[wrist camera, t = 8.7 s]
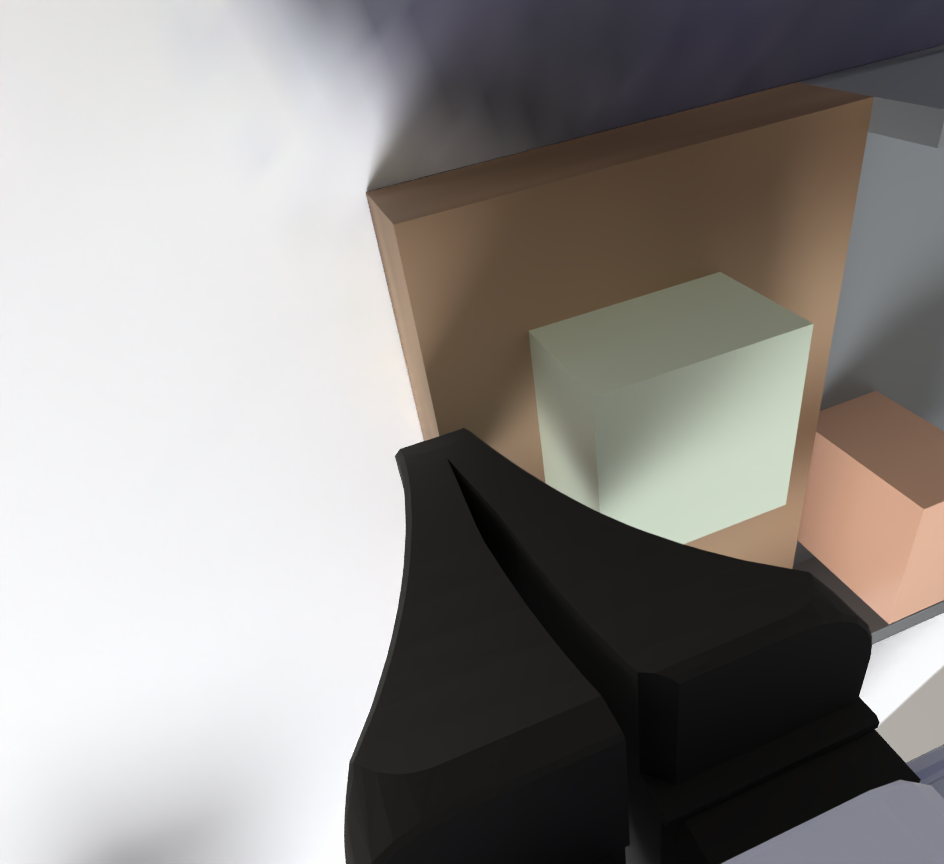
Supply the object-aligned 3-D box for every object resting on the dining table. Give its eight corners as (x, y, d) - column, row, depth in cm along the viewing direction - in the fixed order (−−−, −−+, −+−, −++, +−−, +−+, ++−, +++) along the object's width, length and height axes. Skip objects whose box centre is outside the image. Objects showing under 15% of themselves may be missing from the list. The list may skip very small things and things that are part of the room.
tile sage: (709, 437, 16) (785, 504, 14) (547, 496, 15) (602, 575, 13) (720, 271, 14) (813, 323, 12) (528, 331, 13) (593, 397, 11)
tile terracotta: (782, 526, 21) (851, 498, 22) (889, 624, 18) (967, 589, 19) (798, 418, 19) (875, 390, 19) (924, 509, 16) (1012, 473, 16)
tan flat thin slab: (739, 584, 23) (781, 629, 21) (482, 689, 21) (506, 747, 20) (796, 82, 14) (874, 96, 13) (365, 191, 13) (393, 224, 11)
